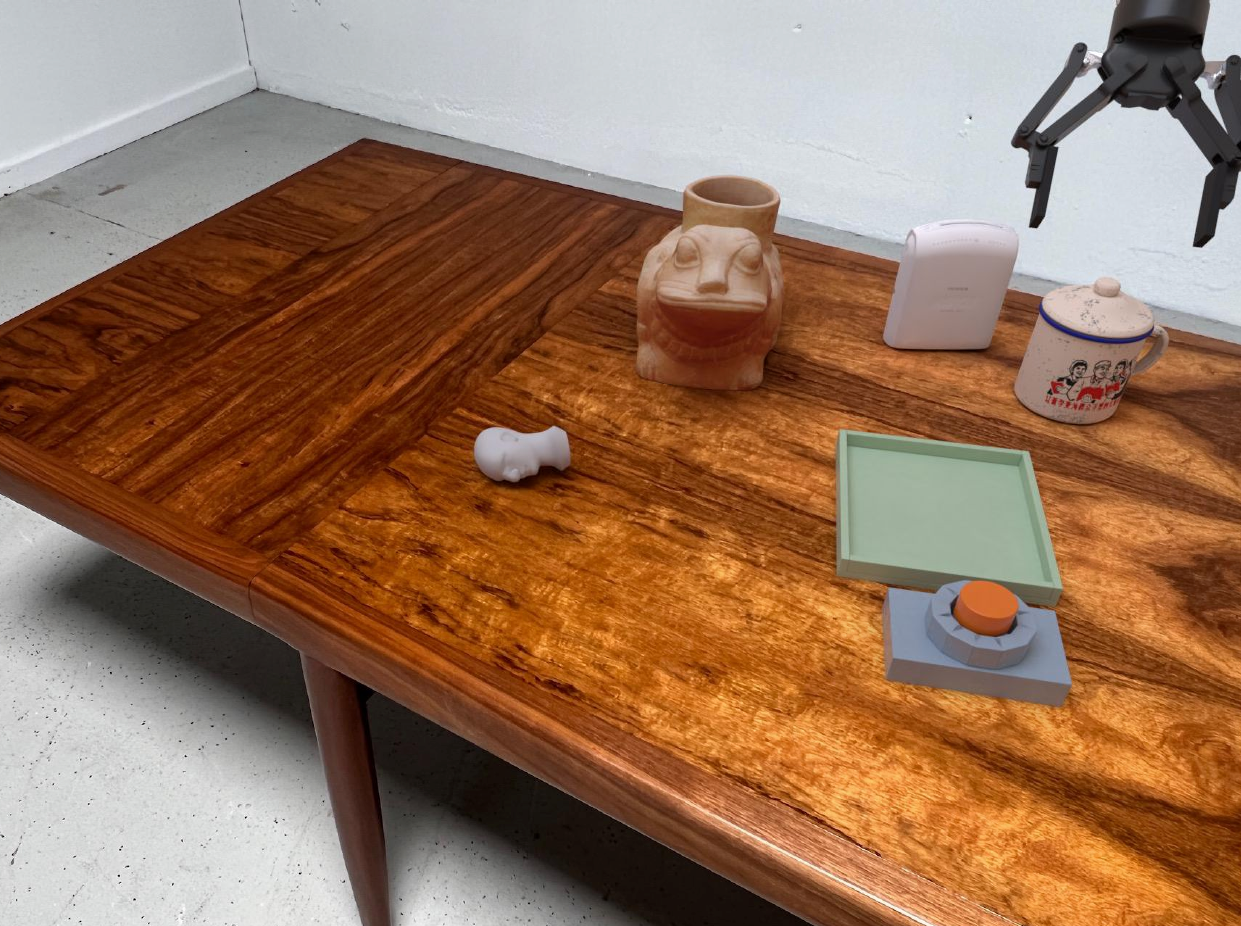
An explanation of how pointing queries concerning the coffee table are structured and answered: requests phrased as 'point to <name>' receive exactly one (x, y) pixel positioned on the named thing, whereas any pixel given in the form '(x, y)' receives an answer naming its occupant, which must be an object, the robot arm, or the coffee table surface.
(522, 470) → the smooth white sculpture
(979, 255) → the photo printer
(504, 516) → the coffee table surface
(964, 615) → the button
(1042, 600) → the tray
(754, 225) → the ceramic vessel
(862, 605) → the coffee table surface
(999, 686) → the control block
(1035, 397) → the teacup with lid
